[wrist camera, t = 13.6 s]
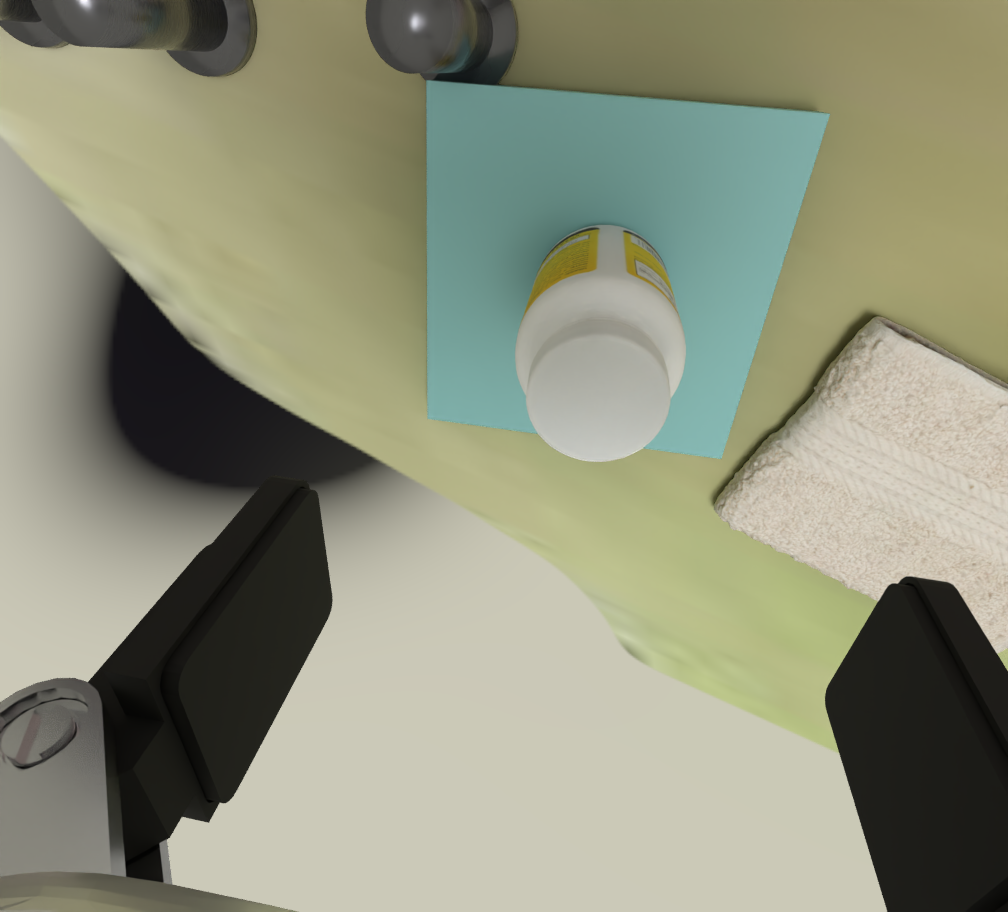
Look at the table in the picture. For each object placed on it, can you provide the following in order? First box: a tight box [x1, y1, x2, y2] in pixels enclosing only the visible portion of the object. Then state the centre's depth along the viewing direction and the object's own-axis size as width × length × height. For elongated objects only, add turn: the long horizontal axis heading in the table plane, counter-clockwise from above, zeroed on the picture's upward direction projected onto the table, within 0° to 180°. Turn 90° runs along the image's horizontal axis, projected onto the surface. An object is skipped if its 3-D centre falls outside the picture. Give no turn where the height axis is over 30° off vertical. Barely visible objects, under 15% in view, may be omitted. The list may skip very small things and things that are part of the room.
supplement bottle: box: [515, 225, 686, 462], centre depth 21 cm, size 5×5×10 cm
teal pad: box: [426, 80, 830, 459], centre depth 25 cm, size 14×14×2 cm
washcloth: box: [714, 316, 1008, 653], centre depth 28 cm, size 12×18×3 cm, turn 66°
